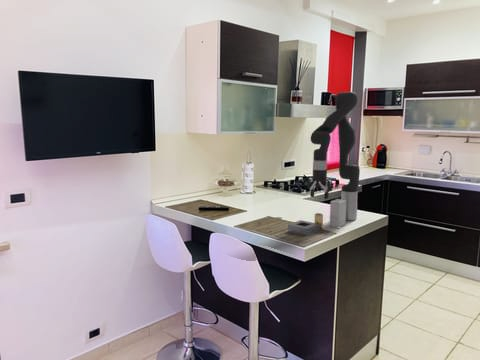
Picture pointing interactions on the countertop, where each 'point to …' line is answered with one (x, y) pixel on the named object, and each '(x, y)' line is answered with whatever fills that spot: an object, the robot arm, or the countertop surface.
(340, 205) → the skincare box
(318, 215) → the piston
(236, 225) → the countertop surface
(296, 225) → the collar
